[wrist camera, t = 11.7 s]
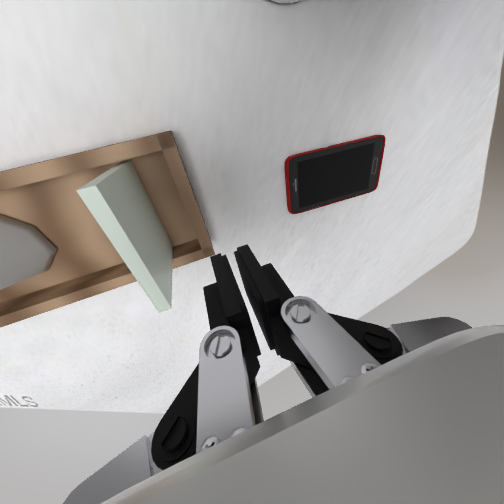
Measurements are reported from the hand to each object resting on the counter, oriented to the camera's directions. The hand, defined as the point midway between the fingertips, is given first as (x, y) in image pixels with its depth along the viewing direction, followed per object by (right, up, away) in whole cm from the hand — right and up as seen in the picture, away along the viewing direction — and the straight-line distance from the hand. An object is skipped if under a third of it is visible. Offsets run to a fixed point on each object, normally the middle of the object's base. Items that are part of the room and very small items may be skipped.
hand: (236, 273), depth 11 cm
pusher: (-10, +6, +12) cm, 17 cm away
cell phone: (+12, +12, +19) cm, 25 cm away
